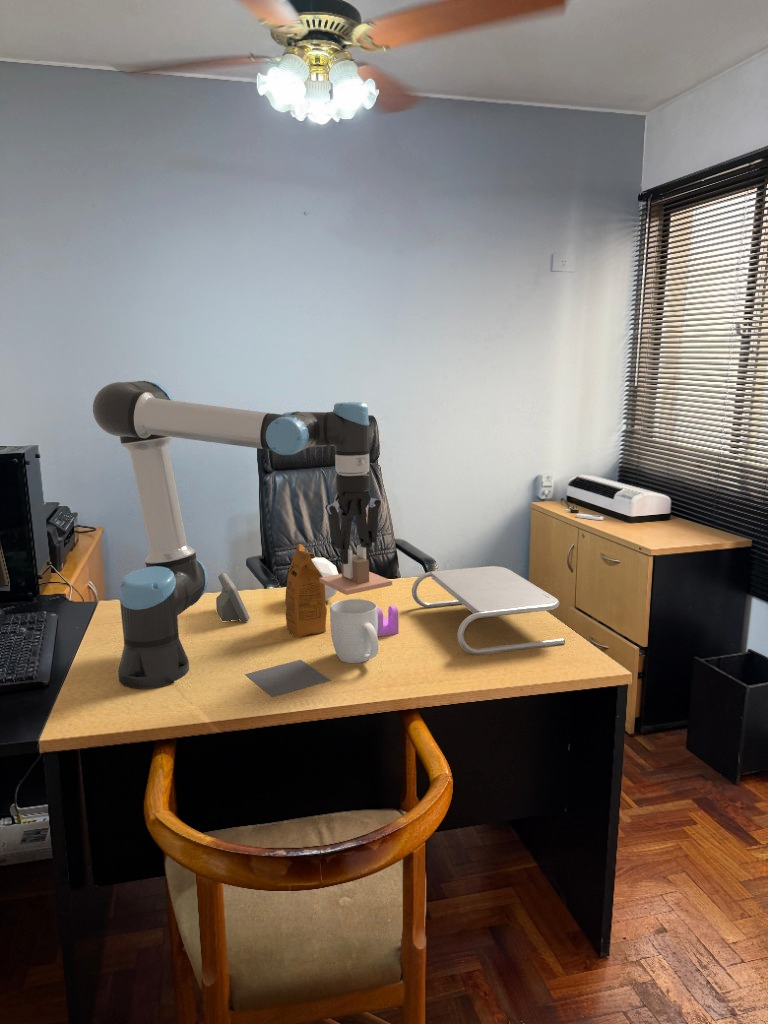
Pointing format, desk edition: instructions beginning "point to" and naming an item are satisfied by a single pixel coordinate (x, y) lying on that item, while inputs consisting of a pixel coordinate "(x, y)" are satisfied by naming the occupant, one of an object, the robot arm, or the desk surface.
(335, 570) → the geodesic sphere
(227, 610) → the digital clock
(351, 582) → the lid
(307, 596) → the coffee package
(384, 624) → the bracket
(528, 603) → the monitor stand
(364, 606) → the mug
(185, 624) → the desk surface
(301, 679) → the mat
